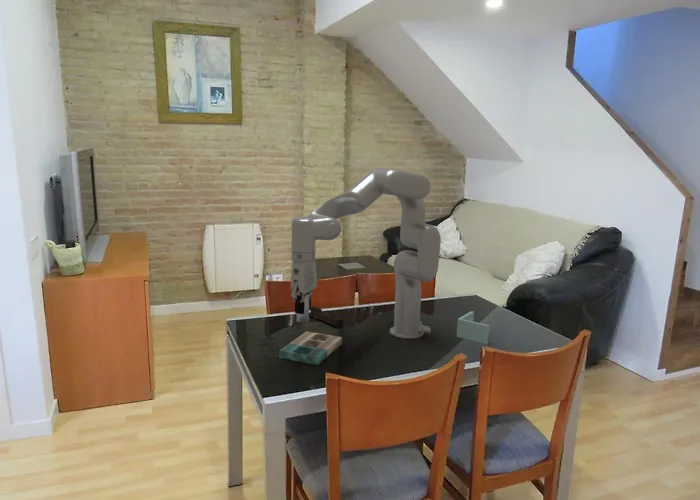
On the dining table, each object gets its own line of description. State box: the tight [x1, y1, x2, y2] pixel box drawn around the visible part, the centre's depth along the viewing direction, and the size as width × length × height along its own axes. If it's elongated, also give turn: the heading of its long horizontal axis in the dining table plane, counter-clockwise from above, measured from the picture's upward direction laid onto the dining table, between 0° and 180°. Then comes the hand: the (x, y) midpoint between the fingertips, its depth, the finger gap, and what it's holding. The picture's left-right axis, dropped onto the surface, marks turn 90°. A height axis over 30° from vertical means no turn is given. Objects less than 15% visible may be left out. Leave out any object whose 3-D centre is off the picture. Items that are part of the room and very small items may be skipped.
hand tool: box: [309, 306, 344, 329], centre depth 209 cm, size 19×4×5 cm, turn 38°
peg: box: [296, 293, 310, 324], centre depth 170 cm, size 4×4×9 cm
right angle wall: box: [456, 310, 490, 345], centre depth 196 cm, size 12×12×8 cm
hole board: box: [278, 331, 343, 366], centre depth 179 cm, size 14×20×2 cm
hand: (302, 310), depth 170 cm, fingers closed on peg, 4 cm apart
